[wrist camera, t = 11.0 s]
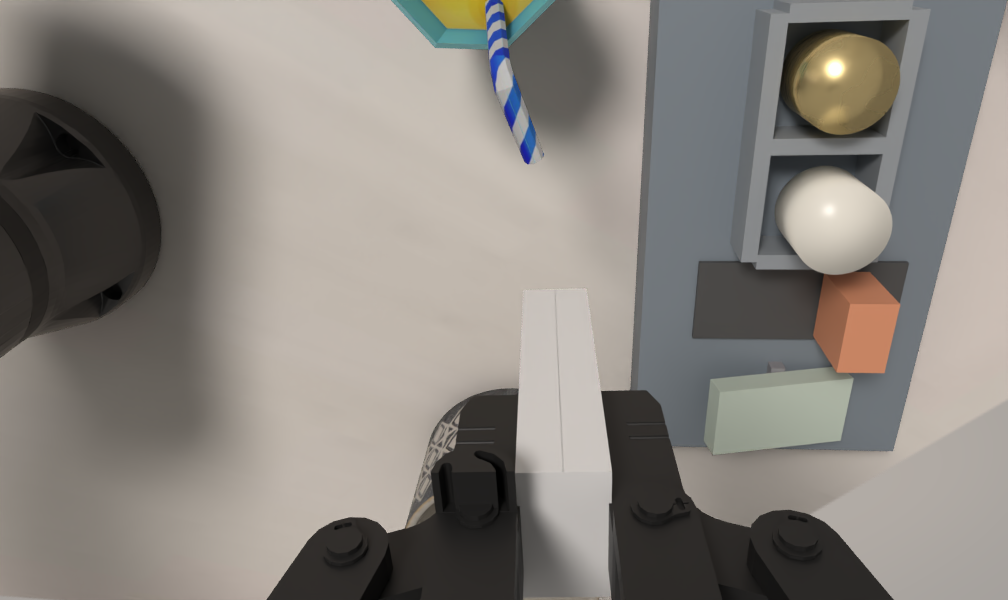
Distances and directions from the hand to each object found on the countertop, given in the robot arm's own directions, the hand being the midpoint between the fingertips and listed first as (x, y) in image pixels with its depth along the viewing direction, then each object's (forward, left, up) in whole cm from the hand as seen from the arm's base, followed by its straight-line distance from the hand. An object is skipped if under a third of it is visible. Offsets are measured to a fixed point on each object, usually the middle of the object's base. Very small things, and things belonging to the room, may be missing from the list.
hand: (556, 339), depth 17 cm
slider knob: (+16, -10, -22) cm, 29 cm away
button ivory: (+13, -3, -20) cm, 24 cm away
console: (+13, -6, -27) cm, 30 cm away
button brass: (+13, +3, -22) cm, 25 cm away
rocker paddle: (+13, -16, -21) cm, 29 cm away
